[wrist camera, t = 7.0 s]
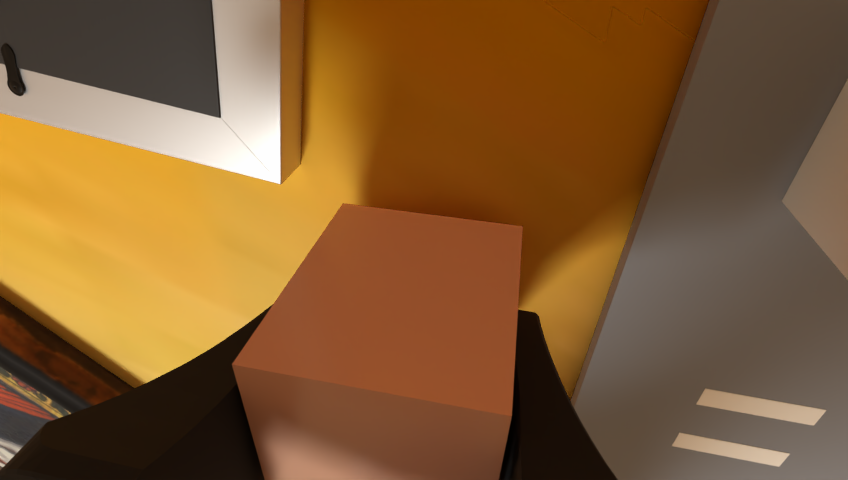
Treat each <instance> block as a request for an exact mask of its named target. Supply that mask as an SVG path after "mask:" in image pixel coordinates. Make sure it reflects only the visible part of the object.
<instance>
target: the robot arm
mask: <svg viewBox="0 0 848 480" xmlns="http://www.w3.org/2000/svg"><path fill="white" fill-rule="evenodd" d="M272 306H273V305H272ZM272 306H270V307H269V308H268V309H266V310H265V311H264V312H262V313H261V314H260V315H259V316H257V317H256V318H255V319H253V320H252V321H251V322H249V323H248V324H247V325H245V326H244V327H242V328H241V329H239V330H238V331H236V332H235V333H234V334H232V335H231V336H229V337H228V338H226V339H225V340H224V341H222V342H220V343H219V344H217V345H216V346H214V347H213V348H211V349H209V350H208V351H206V352H204V353H203V354H201V355H199V356H198V357H196V358H194V359H192V360H191V361H189V362H187V363H185V364H184V365H182V366H180V367H178V368H176V369H174V370H172V371H170V372H168V373H166V374H164V375H162V376H160V377H158V378H156V379H154V380H152V381H150V382H148V383H146V384H144V385H141V386H139V387H137V388H135V389H133V390H130V391H128V392H126V393H123V394H121V395H119V396H116V397H114V398H111V399H109V400H107V401H104V402H101V403H99V404H96V405H94V406H91V407H88V408H85V409H83V410H80V411H77V412H74V413H72V414H69V415H66V416H63V417H60V418H58V419H55V420H52V421H49V422H47V423H46V424H44V425H43V426H42V427H41V428H40V429H39V430H38V432H37V433H36V434H35V435H34V436H33V437H32V438H31V439H30V440H29V441H28V442H27V443H26V444H25V445H24V446H23V447H22V448H21V449H20V450H19V451H18V452H17V453H16V454H15V455H14V456H13V457H12V458H11V460H10V461H9V462H8V463H7V464H6V465H5V466H4V467H3V468H2V469H1V470H0V480H265V479H264V476H263V472H262V468H261V465H260V461H259V458H258V454H257V451H256V447H255V444H254V440H253V437H252V433H251V430H250V426H249V423H248V419H247V416H246V412H245V409H244V405H243V402H242V398H241V395H240V391H239V388H238V384H237V381H236V377H235V374H234V370H233V367H232V364H233V362H234V361H235V359H236V358H237V356H238V355H239V353H240V352H241V351H242V349H243V348H244V346H245V345H246V343H247V342H248V340H249V339H250V338H251V336H252V335H253V333H254V332H255V330H256V329H257V327H258V326H259V324H260V323H261V322H262V320H263V319H264V317H265V316H266V314H267V313H268V311H269V310H270V309H271V307H272ZM499 480H618V479H617V478H616V476H615V475H614V473H613V472H612V471H611V469H610V468H609V466H608V465H607V463H606V462H605V460H604V459H603V457H602V456H601V454H600V452H599V451H598V449H597V448H596V446H595V445H594V443H593V441H592V440H591V438H590V436H589V434H588V433H587V431H586V429H585V428H584V426H583V424H582V422H581V420H580V419H579V417H578V415H577V413H576V411H575V409H574V407H573V405H572V403H571V401H570V399H569V397H568V395H567V393H566V391H565V389H564V386H563V384H562V382H561V380H560V377H559V375H558V373H557V370H556V368H555V365H554V363H553V360H552V358H551V355H550V352H549V350H548V347H547V344H546V341H545V338H544V335H543V331H542V328H541V324H540V319H539V316H538V315H537V314H536V313H534V312H528V311H522V310H518V318H517V336H516V353H515V370H514V387H513V404H512V418H511V423H510V427H509V432H508V437H507V442H506V447H505V452H504V456H503V461H502V466H501V471H500V476H499Z"/></svg>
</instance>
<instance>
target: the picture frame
mask: <svg viewBox="0 0 848 480" xmlns="http://www.w3.org/2000/svg"><path fill="white" fill-rule="evenodd" d="M304 2H305V0H0V113H3V114H7V115H11V116H14V117H18V118H22V119H26V120H30V121H34V122H38V123H42V124H46V125H50V126H54V127H58V128H62V129H66V130H69V131H73V132H77V133H81V134H85V135H89V136H93V137H97V138H101V139H105V140H109V141H113V142H117V143H120V144H124V145H128V146H132V147H136V148H140V149H144V150H148V151H152V152H156V153H160V154H164V155H168V156H172V157H175V158H179V159H183V160H187V161H191V162H195V163H199V164H203V165H207V166H211V167H215V168H219V169H223V170H227V171H230V172H234V173H238V174H242V175H246V176H250V177H254V178H258V179H262V180H266V181H270V182H274V183H278V184H282V183H283V182H284V181H285V180H286V179H287V178H288V177H289V176H290V175H291V174H292V172H293V171H294V170H295V169H296V168H297V167H298V166H299V165H300V164H301V127H302V85H303V43H304Z"/></svg>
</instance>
